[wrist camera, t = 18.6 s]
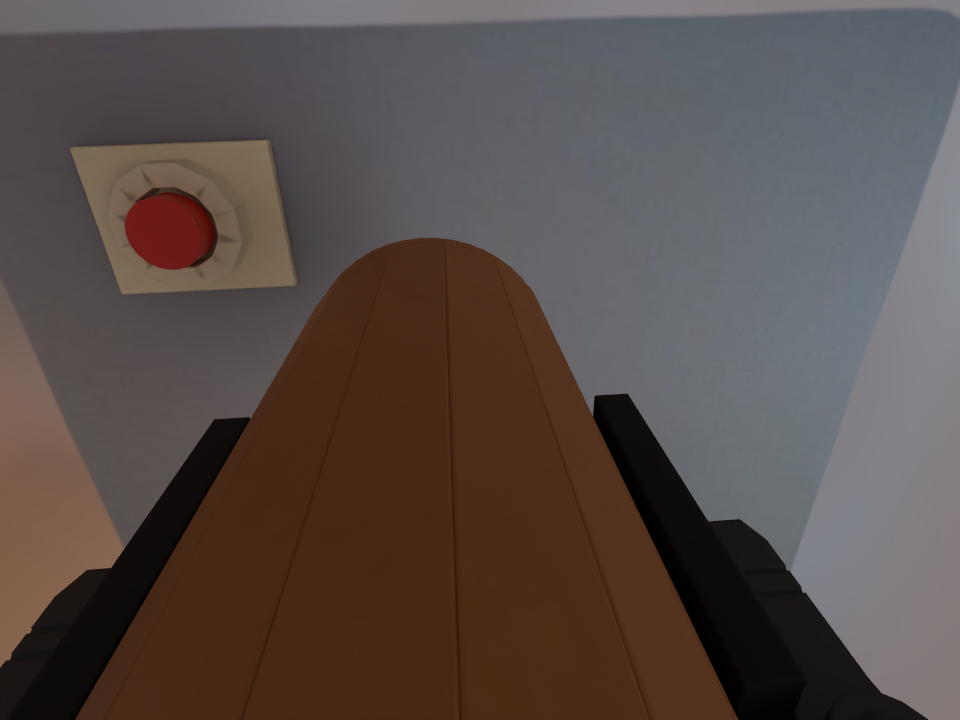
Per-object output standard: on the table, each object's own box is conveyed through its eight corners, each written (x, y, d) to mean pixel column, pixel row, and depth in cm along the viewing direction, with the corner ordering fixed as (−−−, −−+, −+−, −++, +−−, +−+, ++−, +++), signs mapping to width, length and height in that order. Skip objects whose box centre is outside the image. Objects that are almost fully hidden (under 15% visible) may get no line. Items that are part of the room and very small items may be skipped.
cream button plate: (270, 139, 28) (255, 142, 26) (298, 282, 32) (287, 296, 29) (76, 146, 28) (44, 150, 25) (127, 291, 31) (103, 306, 29)
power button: (204, 190, 27) (189, 196, 25) (221, 259, 29) (209, 268, 27) (132, 193, 27) (113, 199, 25) (154, 262, 28) (137, 271, 27)
